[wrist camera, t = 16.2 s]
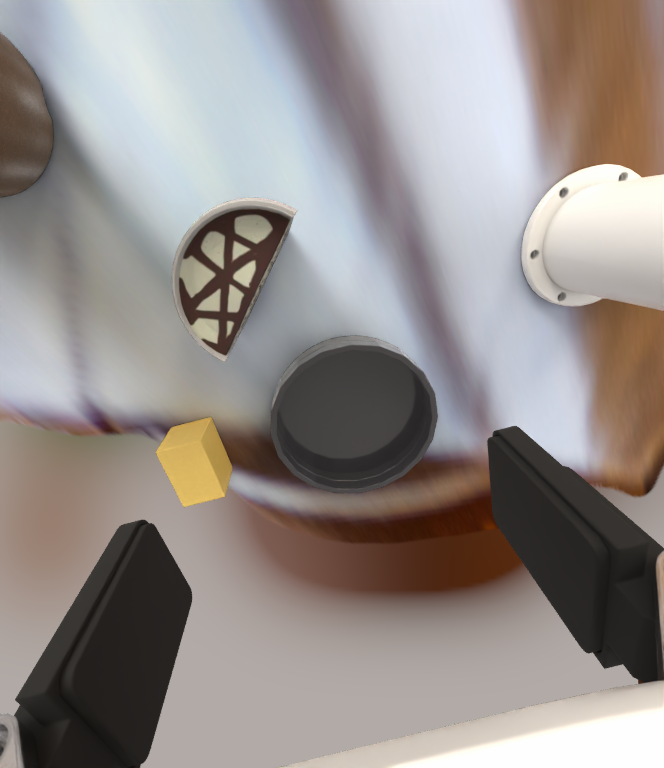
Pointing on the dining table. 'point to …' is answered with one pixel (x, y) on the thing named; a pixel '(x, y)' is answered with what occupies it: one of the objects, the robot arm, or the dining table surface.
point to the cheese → (195, 462)
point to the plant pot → (21, 123)
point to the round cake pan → (352, 415)
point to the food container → (227, 268)
